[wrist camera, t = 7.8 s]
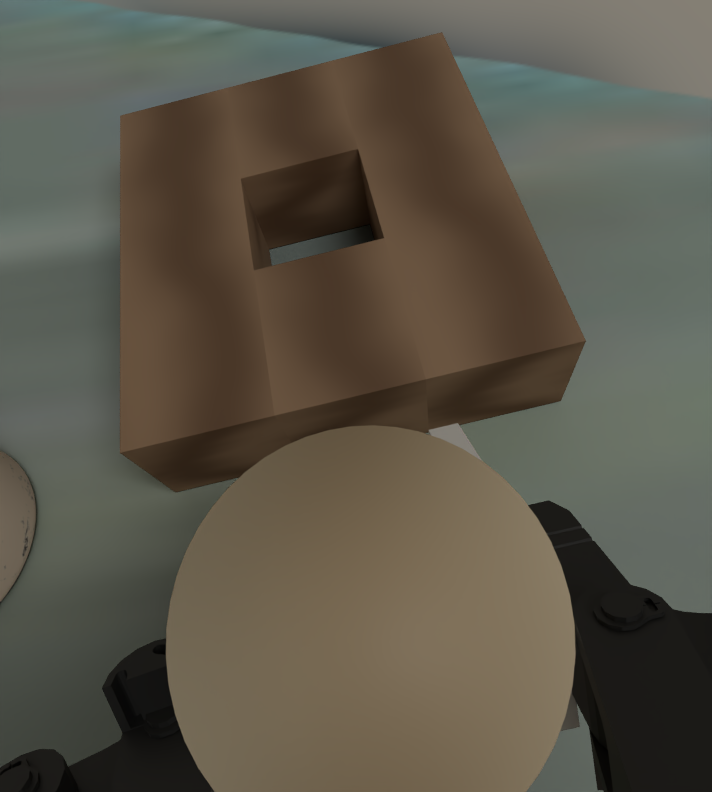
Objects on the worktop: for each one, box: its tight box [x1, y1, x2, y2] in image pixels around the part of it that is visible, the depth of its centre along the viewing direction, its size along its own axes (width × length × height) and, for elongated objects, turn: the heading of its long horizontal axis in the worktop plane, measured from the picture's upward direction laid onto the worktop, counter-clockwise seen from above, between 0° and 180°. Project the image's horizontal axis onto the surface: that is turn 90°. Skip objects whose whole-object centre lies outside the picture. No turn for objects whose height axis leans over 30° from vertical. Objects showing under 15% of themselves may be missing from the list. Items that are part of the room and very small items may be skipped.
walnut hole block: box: [120, 33, 586, 492], centre depth 25 cm, size 16×18×4 cm
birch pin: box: [166, 425, 576, 792], centre depth 11 cm, size 4×4×13 cm
